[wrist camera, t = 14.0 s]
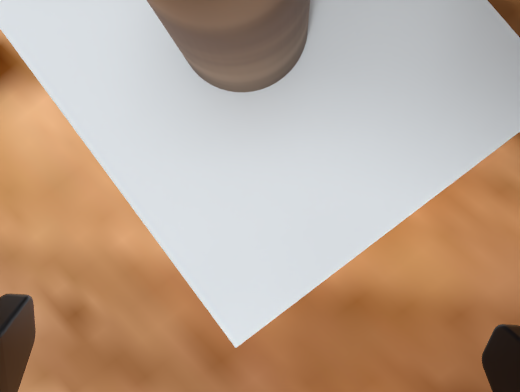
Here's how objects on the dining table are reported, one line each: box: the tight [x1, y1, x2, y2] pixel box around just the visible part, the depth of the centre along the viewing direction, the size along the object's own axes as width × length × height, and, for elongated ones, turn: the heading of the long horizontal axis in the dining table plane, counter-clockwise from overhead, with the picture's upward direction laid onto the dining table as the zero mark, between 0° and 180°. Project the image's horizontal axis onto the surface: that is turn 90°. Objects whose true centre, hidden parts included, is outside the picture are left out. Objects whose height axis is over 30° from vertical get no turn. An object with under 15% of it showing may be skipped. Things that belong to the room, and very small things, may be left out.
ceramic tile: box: [0, 0, 520, 348], centre depth 19 cm, size 20×16×1 cm
